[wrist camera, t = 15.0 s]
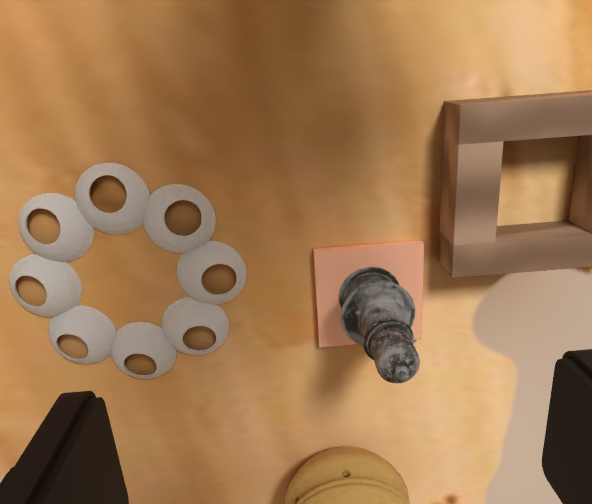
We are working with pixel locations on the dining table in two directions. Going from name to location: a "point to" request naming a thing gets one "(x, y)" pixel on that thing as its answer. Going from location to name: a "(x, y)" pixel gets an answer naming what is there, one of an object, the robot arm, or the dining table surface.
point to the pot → (347, 479)
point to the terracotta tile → (347, 259)
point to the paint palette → (136, 211)
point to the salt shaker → (380, 321)
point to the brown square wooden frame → (486, 185)
